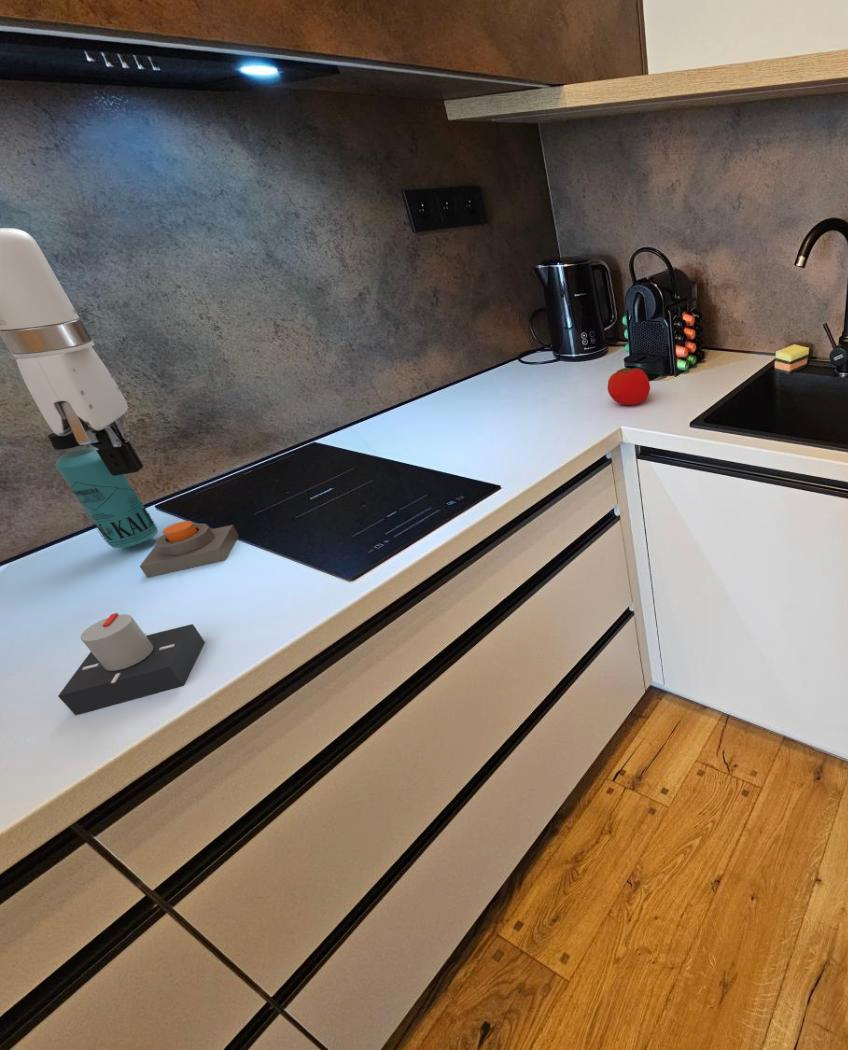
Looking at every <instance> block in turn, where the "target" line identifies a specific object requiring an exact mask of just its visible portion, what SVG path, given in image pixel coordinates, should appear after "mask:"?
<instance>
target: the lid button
mask: <svg viewBox="0 0 848 1050" xmlns="http://www.w3.org/2000/svg"><path fill="white" fill-rule="evenodd" d="M194 524H195V523H193V521H191V520H185V521H184V520H183V521H180V522H176V523H173V524H170V525H168V526H167V527H166V528H164V529H163V531H162V533H163V535H164V534H165V536H166V537H167V539H168V540H169V542H176V541H181V540H184V539H187V538H189V537H192V536H193V535H195V534H196V533H198V531H197V529H196V528H195V526H194Z"/></svg>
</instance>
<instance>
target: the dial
mask: <svg viewBox="0 0 848 1050" xmlns="http://www.w3.org/2000/svg"><path fill="white" fill-rule="evenodd" d="M146 635H147V634H146ZM146 635H145V634H144V631H143V630H142V629H141V627H140V626H139V624H138V622H137V621H136V620H135V619H134V617H133V616H132V615H131V614H126V613H124V614H119V613H118V612H115V613H111V614H110V615H109V617H106V618H104V619H101V620H99V621H97V622H94V623H93V624H91V625H90V626H89V627H88V628H85V630H84V631H83V632H82V633H81V634H80V640H81V641H82V642H83V644H84V645H85V646H86V648H88V650H89V651H90V652H92V653H93V655H94V656H95V657H96V658H97V660H98V661H99V662H100V663H101V664H102V666H103V667H104V668H105V669H106V670H109V671H116V670H121V669H125V668H128V667H130V666H133V665H135V664H137V663H139V662H140V661H142V660H143V659H145V658H146V657H147V656H149V655H150V654H151V652H152V651H153V645H152V644H151V642H150V641H149V639H148V638H147V637H146Z"/></svg>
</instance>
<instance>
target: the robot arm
mask: <svg viewBox="0 0 848 1050" xmlns="http://www.w3.org/2000/svg"><path fill="white" fill-rule="evenodd" d="M0 338H1V339H2V341H3V342H4V345H5V347H7V349H8V350H9V352H10V354H11V355H12V357H13V358H14V359H15V362H16V364H17V367H18V370H19V372H20V375H21V377H22V379H23V381H24V384H25V385H26V388H27V390H28V391H29V393H30V395H31V397H32V399H33V401H34V403H35V405H36V407H37V408H38V410H39V411H40V414H41V415H42V416H43V418H44V420H45V422H46V423H47V425H48V426H49V428H50V430H51V431H52V433H55V434H57V435H59V436H65V435H68V434H70V433H71V432H73V434H74V436H75V438H76V440H77V442H78V443H79V444H80V445H81V446H83V445H84V446H85V445H89V447H92V448H93V450H95V451H97V453H98V454H99V456H100V457H101V459H102V461H103V462H104V464H105V465H106V467H107V469H108V470H109V472H110V473H111V475H113V476H117V475H129V474H133V473H139V471H141V469H143V468H144V465H143V463H142V461H141V459H140V457H139V456H138V454H137V452H136V450H135V448H134V447H133V445H132V444H131V441H129V440H130V438H129V435H128V433H127V430H126V429H125V427H124V424H123V423H124V422H125V420H126V416H125V414H126V412H128V410H129V409H128V408H129V406H128V404H127V400H126V399H125V396H124V395H123V393H122V391H121V388H120V387H119V385H118V384H117V382H116V381H115V379H114V378H113V376H112V374H111V372H110V371H109V370H108V368H107V367H106V365H105V364H104V362H103V361H102V359H101V358H100V356H99V355H98V353H97V352H96V351H95V349H94V348H93V347H94V346H95V342H94V341H93V339H92V337H91V335H90V333H89V332H88V330H87V328H86V327H85V325H84V323H83V321H82V319H80V316H79V314H78V313H77V311H76V309H75V308H74V306H73V304H72V302H71V300H70V299H69V296H68V295H67V293H66V291H65V290H64V289H63V286H62V284H61V283H60V281H59V279H58V278H57V275H56V274H55V272H54V270H53V269H52V267H51V265H50V263H49V262H48V260H47V257H46V256H45V255H44V253H43V251H42V249H41V248H40V246H39V244H38V242H37V241H36V239H35V238H34V237H33V236H32V235H30V234H29V233H28V232H27V231H25V230H22V229H19V228H11V227H0Z"/></svg>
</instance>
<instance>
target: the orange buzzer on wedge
mask: <svg viewBox="0 0 848 1050" xmlns="http://www.w3.org/2000/svg"><path fill="white" fill-rule="evenodd" d="M193 524H194V526H195V528H196V529H197V531H198V533H196V534H195V535H193V536H192V537H189V538H187V539H184V540H181V541H176V542H169V540H168V539H167V537H166V536H165V534H164V533H163V534H162V535H161V536H158V538H157V539H156V540H155V542H154V543H155V546H154V547H153V548H152V549H151V551H150V552H149V553H148V555H147V556H146V557H145V558H144V560H143V561H142V562H141V564H140V565H139V568H140V569H141V570H142V572H143V574H144V575H145V577H146V578H147V579H150V578H155V577H158V576H163V575H168V574H173V573H177V572H180V571H186V570H189V569H194V568H198V567H204V566H208V565H211V564H217V563H222V562H226V560H227V559H228V557H229V555H230V553H231V551H232V550H233V548H234V546H235V545H236V543H237V541H238V539H239V537H240V535H239V533H238V531H237V529H236V527H235V526H234V524H230V525H224V526H220V527H214V528H210V526H209V525H208V524H207V523H193Z"/></svg>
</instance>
